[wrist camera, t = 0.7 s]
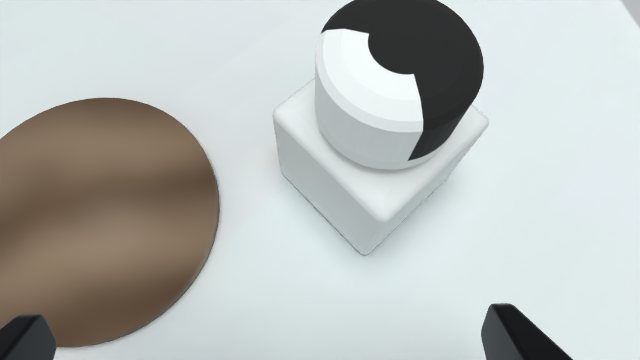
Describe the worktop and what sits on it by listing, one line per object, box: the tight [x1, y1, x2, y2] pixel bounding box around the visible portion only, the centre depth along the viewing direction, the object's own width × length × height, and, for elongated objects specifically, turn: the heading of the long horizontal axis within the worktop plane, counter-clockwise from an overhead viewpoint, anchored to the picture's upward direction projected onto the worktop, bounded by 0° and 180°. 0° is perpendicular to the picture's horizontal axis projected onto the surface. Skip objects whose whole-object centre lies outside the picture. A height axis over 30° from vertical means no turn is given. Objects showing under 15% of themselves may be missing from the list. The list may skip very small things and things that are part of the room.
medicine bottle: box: [273, 0, 489, 255], centre depth 21 cm, size 7×7×12 cm
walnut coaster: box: [0, 98, 219, 347], centre depth 25 cm, size 14×14×1 cm
